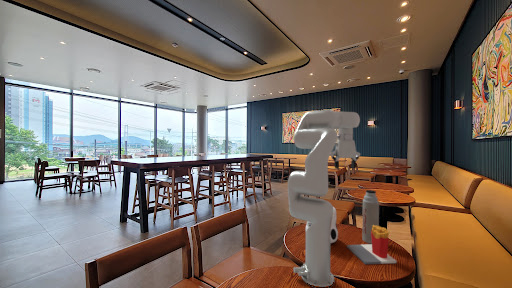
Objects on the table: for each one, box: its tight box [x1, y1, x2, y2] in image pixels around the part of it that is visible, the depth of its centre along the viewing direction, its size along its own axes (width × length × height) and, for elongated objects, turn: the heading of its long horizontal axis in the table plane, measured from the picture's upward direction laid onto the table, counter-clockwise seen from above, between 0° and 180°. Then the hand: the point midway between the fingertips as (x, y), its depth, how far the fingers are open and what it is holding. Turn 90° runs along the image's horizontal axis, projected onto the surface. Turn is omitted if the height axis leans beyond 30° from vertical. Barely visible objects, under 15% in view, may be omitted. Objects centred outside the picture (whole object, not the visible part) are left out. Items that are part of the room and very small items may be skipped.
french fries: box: [371, 225, 390, 258], centre depth 101 cm, size 9×4×13 cm, turn 13°
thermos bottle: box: [361, 189, 380, 244], centre depth 118 cm, size 8×8×28 cm
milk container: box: [305, 206, 339, 245], centre depth 118 cm, size 17×17×18 cm
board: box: [346, 243, 397, 265], centre depth 103 cm, size 15×16×1 cm
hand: (345, 168), depth 119 cm, fingers open, 9 cm apart
